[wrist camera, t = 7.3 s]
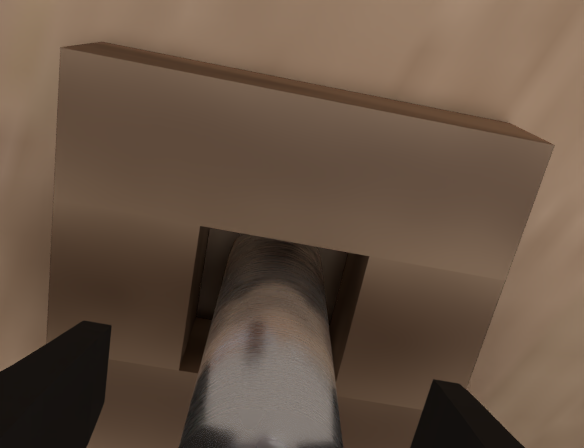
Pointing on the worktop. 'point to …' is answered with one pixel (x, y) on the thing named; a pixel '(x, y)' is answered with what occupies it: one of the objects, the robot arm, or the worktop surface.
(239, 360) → the peg
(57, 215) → the hole block
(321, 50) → the worktop surface
